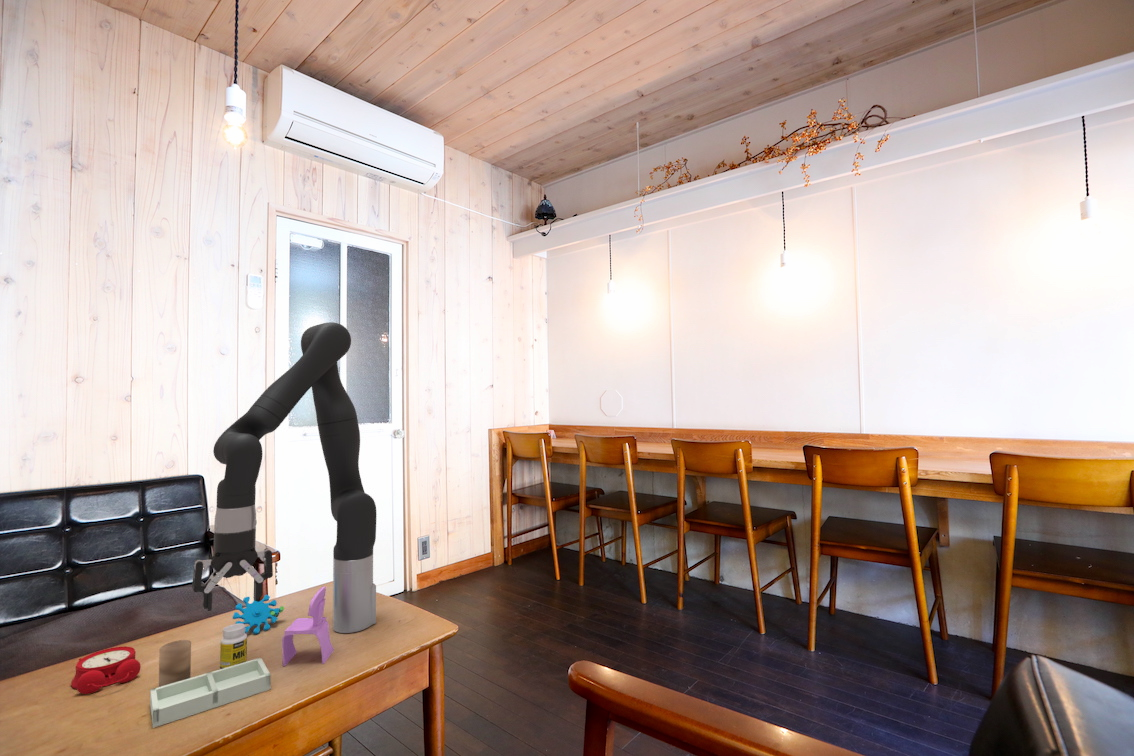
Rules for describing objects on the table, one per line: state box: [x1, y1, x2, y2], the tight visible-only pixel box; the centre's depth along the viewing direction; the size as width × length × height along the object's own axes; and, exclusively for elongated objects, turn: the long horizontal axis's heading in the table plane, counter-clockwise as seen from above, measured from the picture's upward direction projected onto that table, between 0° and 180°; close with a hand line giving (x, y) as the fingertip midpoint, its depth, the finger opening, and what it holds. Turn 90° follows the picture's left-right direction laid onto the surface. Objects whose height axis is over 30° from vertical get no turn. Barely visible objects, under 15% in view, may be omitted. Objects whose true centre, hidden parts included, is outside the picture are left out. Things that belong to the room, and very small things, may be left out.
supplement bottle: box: [219, 623, 248, 670], centre depth 111 cm, size 5×5×8 cm
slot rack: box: [149, 657, 272, 729], centre depth 100 cm, size 18×9×3 cm, turn 131°
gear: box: [232, 594, 285, 635], centre depth 131 cm, size 11×6×10 cm
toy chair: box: [281, 585, 335, 667], centre depth 115 cm, size 8×9×15 cm
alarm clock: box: [70, 645, 142, 695], centre depth 107 cm, size 10×6×15 cm
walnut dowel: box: [158, 639, 192, 687], centre depth 104 cm, size 5×5×8 cm
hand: (233, 604), depth 111 cm, fingers open, 8 cm apart
